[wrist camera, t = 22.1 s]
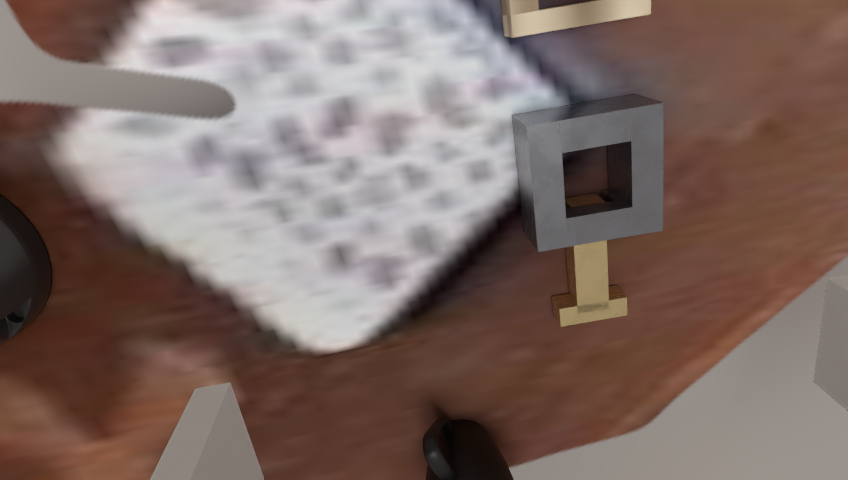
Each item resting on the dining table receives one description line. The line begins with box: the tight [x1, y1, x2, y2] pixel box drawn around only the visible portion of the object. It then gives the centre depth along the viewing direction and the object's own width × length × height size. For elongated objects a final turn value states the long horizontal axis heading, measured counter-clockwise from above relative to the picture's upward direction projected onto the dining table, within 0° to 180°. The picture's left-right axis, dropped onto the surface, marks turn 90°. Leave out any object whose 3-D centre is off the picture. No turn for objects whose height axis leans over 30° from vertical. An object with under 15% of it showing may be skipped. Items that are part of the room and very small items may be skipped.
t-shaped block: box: [552, 193, 627, 327], centre depth 49 cm, size 6×11×2 cm, turn 9°
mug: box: [423, 418, 513, 480], centre depth 52 cm, size 8×12×10 cm
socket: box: [512, 94, 664, 252], centre depth 45 cm, size 10×10×5 cm
